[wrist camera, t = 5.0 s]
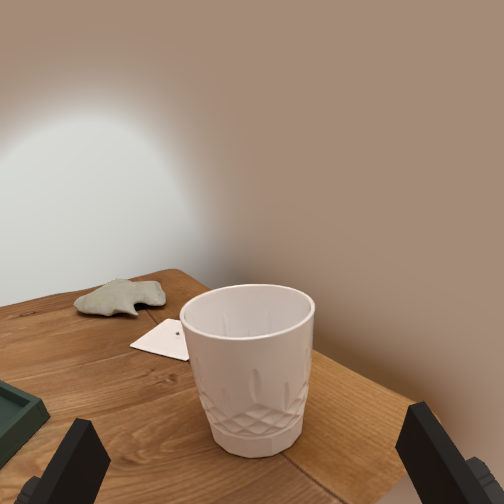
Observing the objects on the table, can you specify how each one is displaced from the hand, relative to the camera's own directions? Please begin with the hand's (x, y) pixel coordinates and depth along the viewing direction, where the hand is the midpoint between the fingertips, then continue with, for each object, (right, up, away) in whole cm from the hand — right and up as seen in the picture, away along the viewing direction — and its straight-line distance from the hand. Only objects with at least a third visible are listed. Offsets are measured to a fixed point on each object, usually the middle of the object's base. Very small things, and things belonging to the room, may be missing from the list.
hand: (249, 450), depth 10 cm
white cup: (0, -5, +10) cm, 11 cm away
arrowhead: (-20, -1, +34) cm, 40 cm away
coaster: (-9, -2, +24) cm, 26 cm away
